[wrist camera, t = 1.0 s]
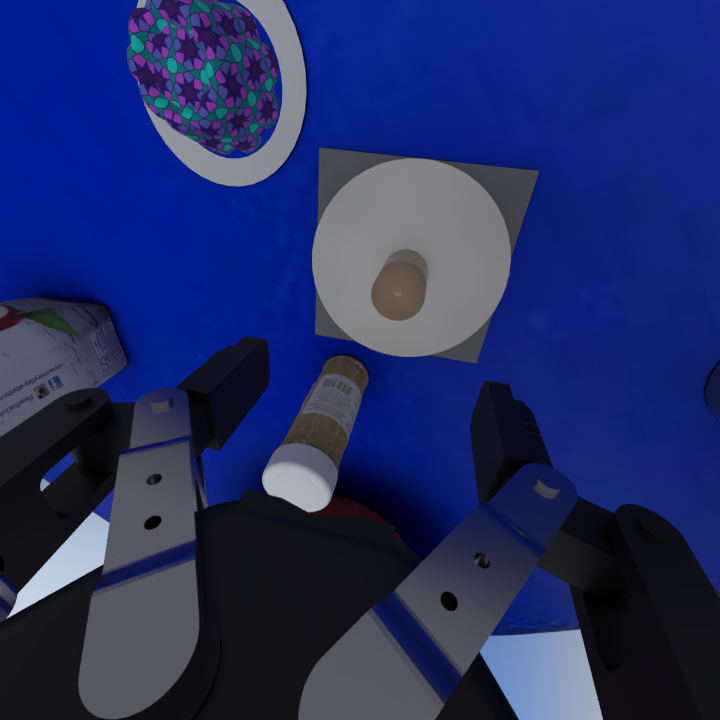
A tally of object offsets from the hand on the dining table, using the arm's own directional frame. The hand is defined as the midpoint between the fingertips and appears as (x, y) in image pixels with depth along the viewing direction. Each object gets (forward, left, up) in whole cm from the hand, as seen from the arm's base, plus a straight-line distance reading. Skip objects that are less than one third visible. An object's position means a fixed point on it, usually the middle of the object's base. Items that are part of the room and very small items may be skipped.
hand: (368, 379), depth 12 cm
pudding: (+14, -10, -16) cm, 24 cm away
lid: (0, 0, -15) cm, 15 cm away
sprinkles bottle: (+4, +11, -16) cm, 20 cm away
